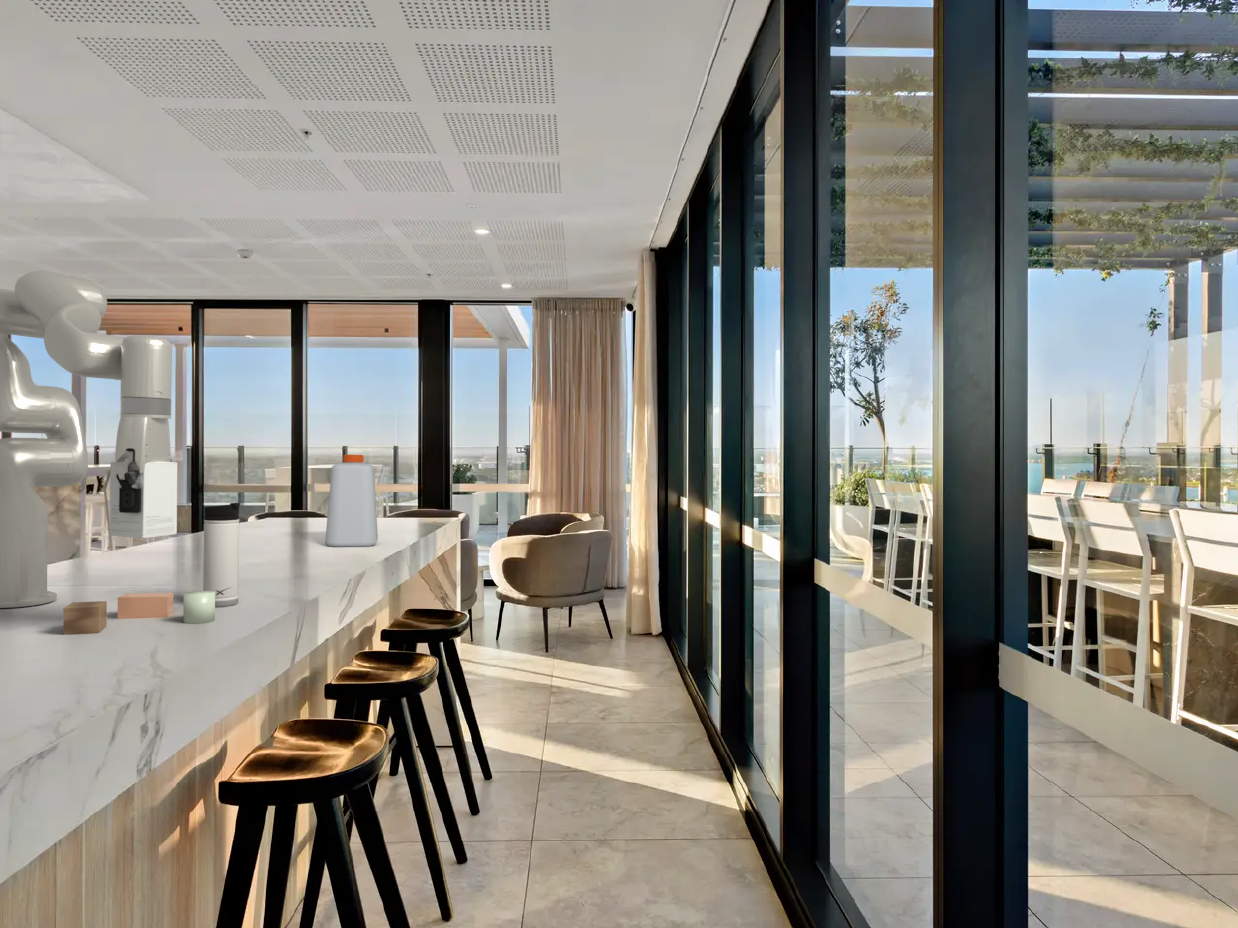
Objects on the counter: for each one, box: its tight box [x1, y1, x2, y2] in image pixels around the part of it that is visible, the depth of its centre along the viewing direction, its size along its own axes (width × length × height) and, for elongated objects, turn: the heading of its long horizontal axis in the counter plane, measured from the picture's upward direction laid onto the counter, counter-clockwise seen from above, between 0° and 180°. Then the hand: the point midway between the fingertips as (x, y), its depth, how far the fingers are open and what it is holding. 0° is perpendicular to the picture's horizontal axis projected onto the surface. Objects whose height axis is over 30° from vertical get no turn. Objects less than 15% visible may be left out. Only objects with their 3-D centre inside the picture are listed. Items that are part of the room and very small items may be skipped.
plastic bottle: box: [325, 454, 379, 548], centre depth 257 cm, size 15×15×28 cm
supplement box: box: [109, 461, 178, 539], centre depth 140 cm, size 7×7×13 cm
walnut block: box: [62, 600, 108, 636], centre depth 137 cm, size 5×5×4 cm
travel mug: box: [202, 502, 241, 608], centre depth 161 cm, size 6×7×20 cm
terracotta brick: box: [117, 592, 174, 620], centre depth 149 cm, size 8×4×4 cm, turn 104°
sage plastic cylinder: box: [182, 590, 216, 625], centre depth 146 cm, size 5×5×5 cm
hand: (144, 509), depth 140 cm, fingers closed on supplement box, 9 cm apart
